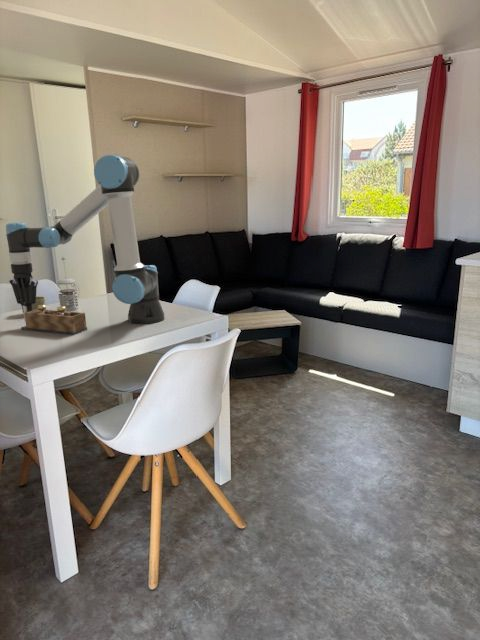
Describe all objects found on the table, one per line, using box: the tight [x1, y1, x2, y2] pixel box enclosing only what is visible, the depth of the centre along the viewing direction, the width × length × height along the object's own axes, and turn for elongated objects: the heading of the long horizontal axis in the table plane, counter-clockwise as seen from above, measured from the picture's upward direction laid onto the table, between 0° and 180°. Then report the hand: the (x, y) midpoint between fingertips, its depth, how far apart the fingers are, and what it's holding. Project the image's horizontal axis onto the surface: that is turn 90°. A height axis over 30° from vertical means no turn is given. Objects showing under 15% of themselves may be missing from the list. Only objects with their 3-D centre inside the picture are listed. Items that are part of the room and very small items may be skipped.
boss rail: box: [20, 304, 88, 336], centre depth 183 cm, size 26×8×10 cm, turn 68°
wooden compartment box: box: [23, 309, 88, 332], centre depth 183 cm, size 24×7×6 cm, turn 67°
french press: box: [56, 256, 82, 312], centre depth 214 cm, size 10×12×25 cm
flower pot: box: [32, 296, 46, 310], centre depth 212 cm, size 10×10×7 cm
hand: (28, 321), depth 189 cm, fingers closed
